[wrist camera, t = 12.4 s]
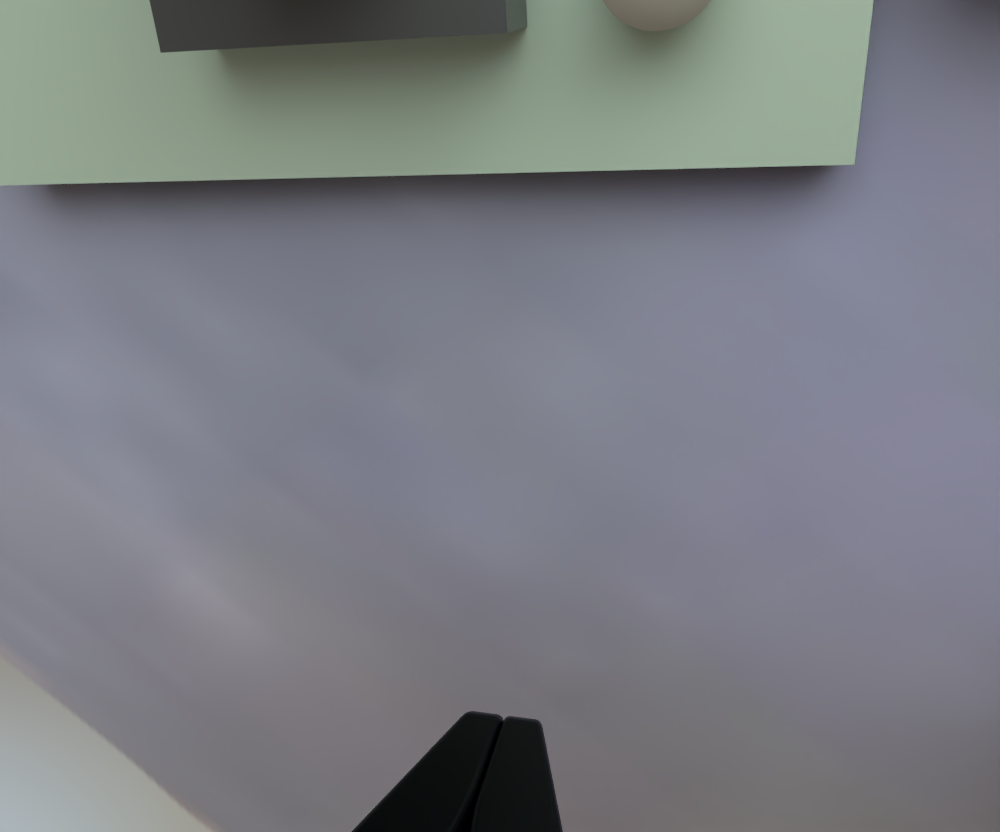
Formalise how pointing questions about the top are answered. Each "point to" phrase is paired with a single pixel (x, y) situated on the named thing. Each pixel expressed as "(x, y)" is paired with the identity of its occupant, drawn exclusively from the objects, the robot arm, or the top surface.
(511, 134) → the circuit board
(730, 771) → the top surface
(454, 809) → the robot arm
